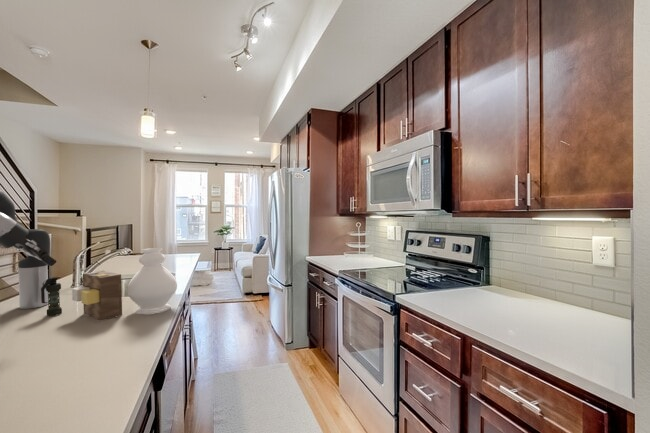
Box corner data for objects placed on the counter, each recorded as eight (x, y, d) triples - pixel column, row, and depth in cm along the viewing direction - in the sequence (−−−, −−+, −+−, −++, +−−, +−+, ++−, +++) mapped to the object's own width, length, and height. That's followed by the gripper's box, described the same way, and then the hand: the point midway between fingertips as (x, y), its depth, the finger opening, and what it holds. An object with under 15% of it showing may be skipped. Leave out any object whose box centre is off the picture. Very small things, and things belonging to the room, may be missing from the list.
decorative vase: (177, 312, 124) (176, 249, 123) (125, 319, 116) (123, 253, 116) (177, 300, 140) (175, 245, 139) (130, 306, 132) (129, 248, 132)
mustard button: (81, 303, 115) (81, 291, 115) (100, 299, 120) (99, 287, 120) (87, 304, 112) (86, 292, 112) (105, 300, 118) (105, 289, 117)
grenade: (48, 318, 119) (47, 279, 118) (36, 317, 120) (34, 278, 119) (66, 312, 125) (64, 275, 125) (53, 311, 126) (52, 275, 126)
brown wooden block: (83, 314, 123) (82, 273, 123) (103, 309, 129) (102, 270, 129) (101, 320, 115) (100, 277, 115) (122, 315, 121) (121, 273, 121)
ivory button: (72, 300, 119) (72, 288, 119) (90, 296, 124) (90, 285, 124) (77, 301, 117) (77, 290, 116) (95, 297, 122) (95, 286, 122)
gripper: (-15, 238, 98) (36, 271, 109) (-2, 239, 91) (51, 274, 102) (8, 221, 103) (55, 254, 113) (22, 221, 96) (71, 256, 106)
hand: (53, 263), depth 107 cm, fingers closed
